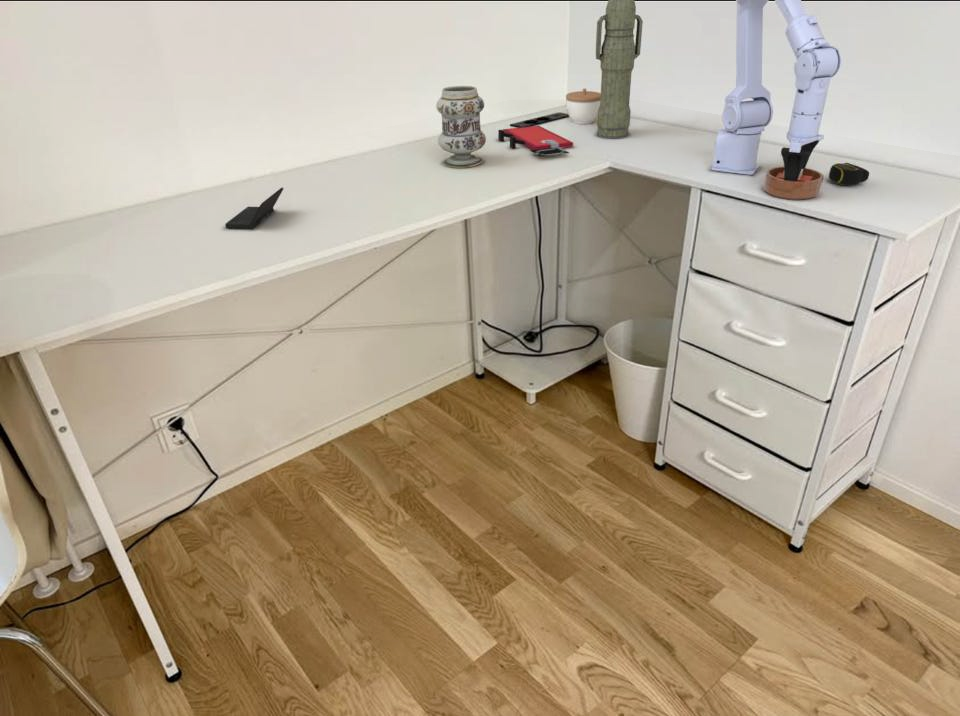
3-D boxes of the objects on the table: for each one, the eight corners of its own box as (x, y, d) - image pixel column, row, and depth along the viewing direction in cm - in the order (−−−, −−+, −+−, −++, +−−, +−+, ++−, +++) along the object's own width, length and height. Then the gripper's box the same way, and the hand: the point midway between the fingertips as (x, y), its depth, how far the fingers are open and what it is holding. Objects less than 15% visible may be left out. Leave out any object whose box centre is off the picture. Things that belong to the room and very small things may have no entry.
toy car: (773, 190, 150) (776, 170, 148) (776, 185, 153) (780, 165, 151) (806, 194, 147) (811, 174, 145) (809, 189, 150) (814, 169, 148)
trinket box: (564, 125, 207) (565, 92, 202) (566, 117, 216) (567, 85, 211) (600, 126, 205) (602, 92, 200) (601, 117, 214) (603, 85, 209)
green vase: (639, 136, 194) (651, -5, 175) (599, 140, 191) (607, -3, 173) (625, 129, 201) (635, -8, 183) (587, 133, 199) (593, -5, 180)
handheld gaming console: (237, 203, 151) (256, 168, 146) (267, 221, 153) (288, 187, 148) (221, 230, 142) (242, 193, 137) (254, 248, 145) (275, 213, 139)
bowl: (758, 196, 149) (761, 177, 147) (769, 181, 157) (772, 163, 155) (814, 203, 144) (818, 184, 142) (823, 188, 152) (827, 170, 150)
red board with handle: (532, 160, 176) (586, 154, 180) (533, 149, 174) (586, 143, 178) (490, 135, 200) (538, 130, 204) (490, 125, 199) (538, 120, 203)
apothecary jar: (478, 153, 184) (475, 81, 175) (492, 166, 174) (491, 90, 165) (434, 159, 181) (429, 86, 172) (446, 171, 171) (441, 95, 162)
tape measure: (868, 185, 152) (872, 168, 150) (842, 189, 151) (846, 172, 149) (845, 176, 158) (849, 160, 156) (820, 180, 156) (824, 163, 154)
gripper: (822, 121, 135) (807, 190, 142) (834, 106, 145) (819, 171, 152) (784, 118, 138) (771, 185, 145) (798, 103, 148) (785, 167, 155)
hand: (793, 178), depth 149 cm, fingers open, 7 cm apart
